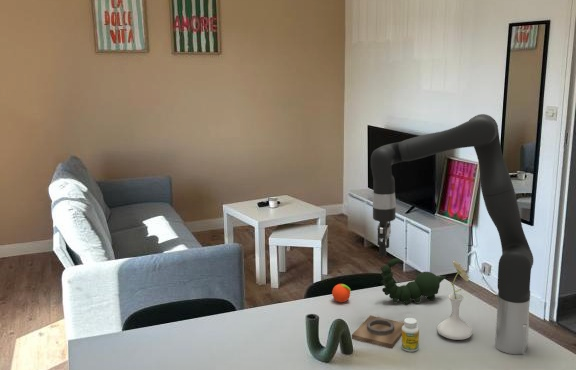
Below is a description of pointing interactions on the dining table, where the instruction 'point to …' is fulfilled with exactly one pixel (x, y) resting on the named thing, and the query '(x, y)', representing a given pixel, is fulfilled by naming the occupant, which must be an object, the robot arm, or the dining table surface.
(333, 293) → the clementine
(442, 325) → the flower in vase
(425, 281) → the toy figurine
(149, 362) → the dining table surface
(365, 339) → the collar board
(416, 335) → the supplement bottle
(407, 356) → the dining table surface
